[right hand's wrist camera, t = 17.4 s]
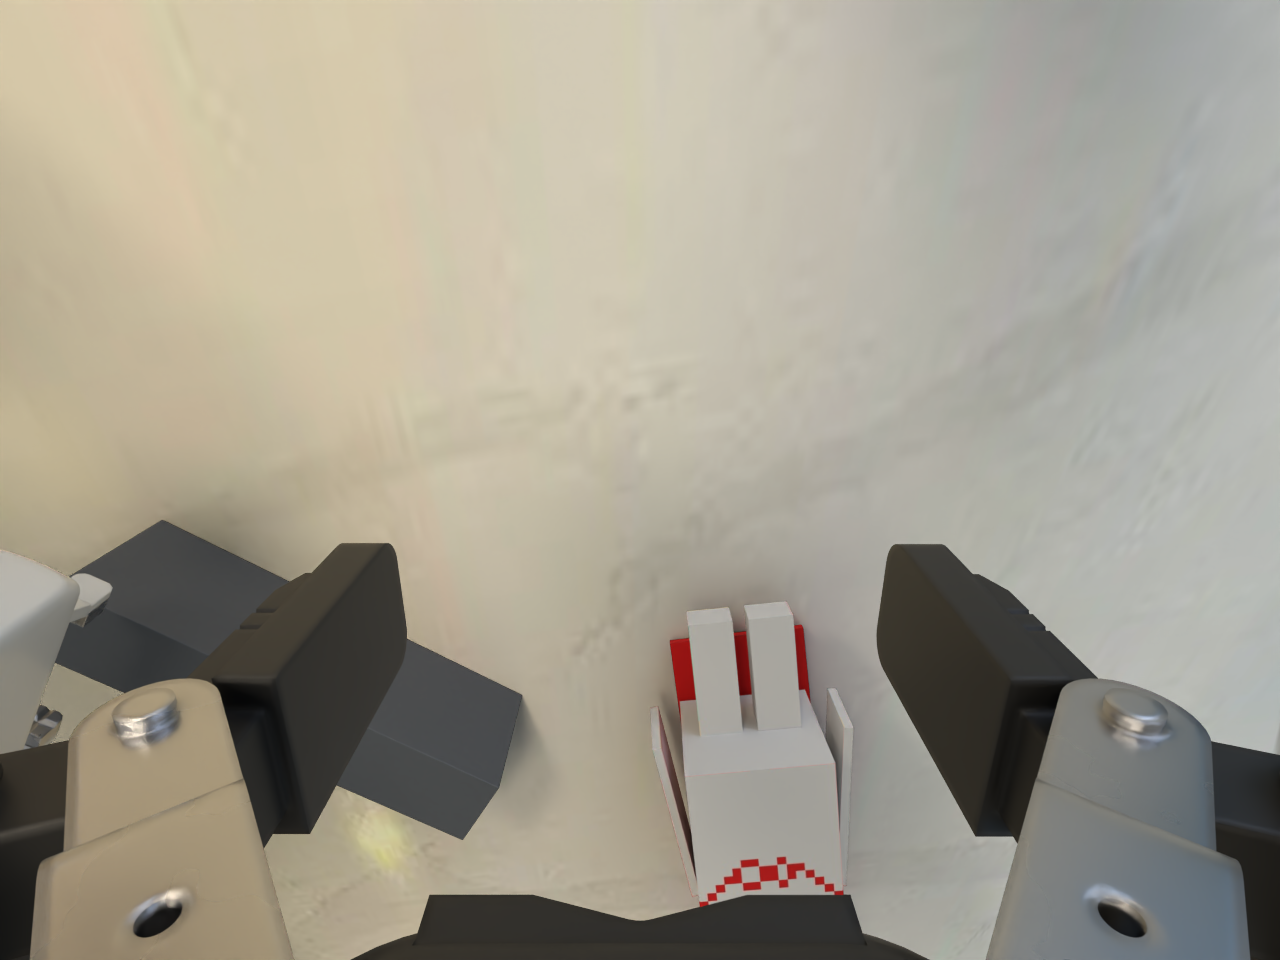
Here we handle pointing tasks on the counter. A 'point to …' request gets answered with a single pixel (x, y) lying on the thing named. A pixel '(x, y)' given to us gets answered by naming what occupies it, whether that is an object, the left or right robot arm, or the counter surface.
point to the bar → (216, 605)
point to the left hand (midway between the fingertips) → (70, 655)
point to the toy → (755, 761)
